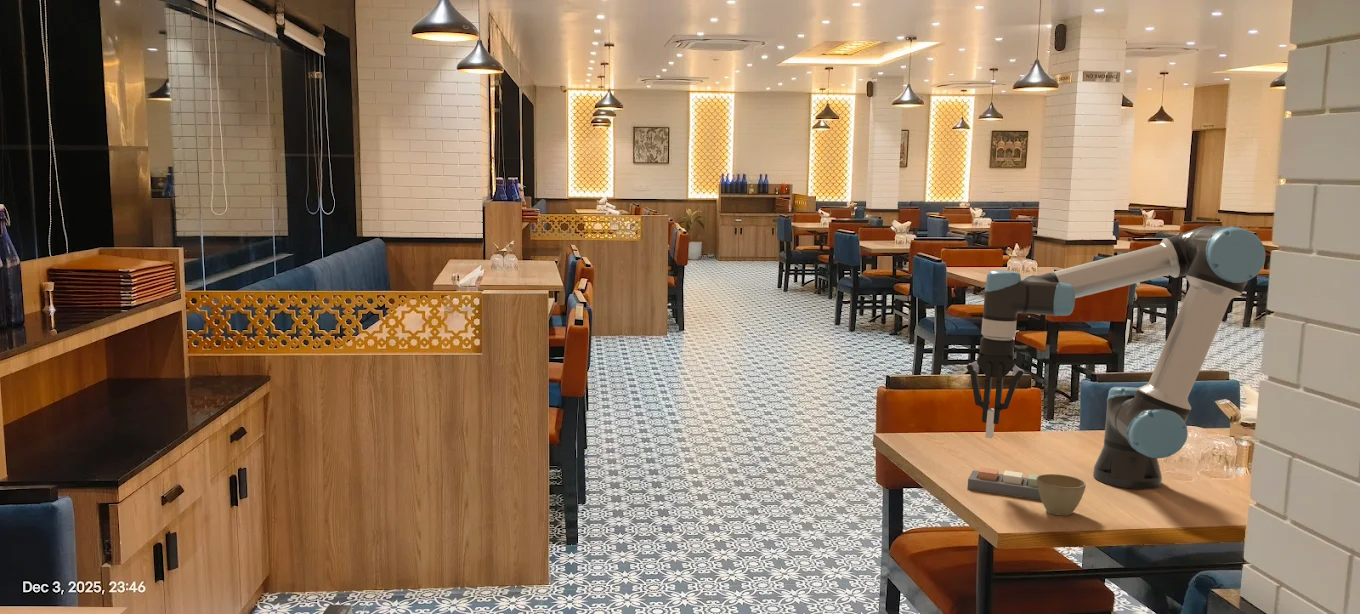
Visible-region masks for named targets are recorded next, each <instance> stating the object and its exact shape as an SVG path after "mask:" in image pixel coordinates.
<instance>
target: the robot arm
mask: <svg viewBox="0 0 1360 614" xmlns="http://www.w3.org/2000/svg"><path fill="white" fill-rule="evenodd" d="M1265 249H1266V248H1265V247H1264V244H1263V242H1262V240H1261V239H1260V237H1258V236H1257V235H1256V234H1255V233H1253V232H1252V231H1250V230H1248V229H1244V228H1242V227H1238V226H1234V225H1232V226H1231V225H1230V226H1227V225H1217V224H1212V225H1203V226H1201V227H1197V228H1194V229H1191V230H1189V231H1185V232H1183V233H1179V234H1176V235H1173V236H1169V237H1166V238H1165V237H1164V238H1163V239H1162V240H1161V242H1160V243H1159V244H1155V245H1152V246H1148V247H1143V248H1141V249H1137V250H1132V251H1129V252H1125V253H1121V254H1118V255H1113V256H1109V257H1105V258H1102V259H1098V260H1094V261H1090V262H1085V263H1083V264H1078V265H1075V266H1072V267H1070V266H1069V267H1067V268H1063V269H1058V270H1055V271H1052V272H1047V273H1044V274H1039V275H1034V274H1033V275H1028V276H1027V275H1026V276H1025V277H1023V278H1021V277H1022V276H1021V273H1020V272H1018V271H1013V270H1002V269H1001V270H999V269H997V270H996V269H994V270H990V271H989V272H988V273H987V274H986V280H985V281H986V282H985V287H984V297H983V299H984V300H983V310H982V311H983V312H982V322H981V335H982V337H981V338H980V343H979V344H980V345H979V354H978V356H977V358H976V360H975V361H973V362H971V363H970V362H969V363H968V364H967V365H966V369H967V372H968V373H969V375H970V380H971V386H972V392H973V393H972V394H973V397H974V398H973V399H974V404H975V406H977V407H980V408H981V409H982V416H981V422H982V423H986V424H985V438H986V439H992V438H993V437H994V434H995V431H994V430H995V425H999V423H1000V422H1001V411H1003V410H1008V408H1009V407H1010V405H1011V402H1012V400H1013V399H1012V398H1013V397H1014V393H1015V391H1016V388H1017V385H1018V382H1019V380H1020V379H1021V377H1022V376H1023V375H1024V374H1025V369H1023V368H1020V367H1018V366H1017V365H1016V361H1015V359H1014V355H1015V354H1014V353H1015V344H1016V340H1015V339H1014V338H1016V331H1017V320H1018V314H1032V315H1043V316H1054V317H1058V316H1061V317H1063V316H1065V317H1066V316H1067V317H1068V316H1070V315H1071V314H1073V311H1074V309H1075V304H1076V303H1075V302H1076V299H1078V298H1083V297H1085V296H1090V295H1094V294H1098V293H1102V292H1106V291H1109V290H1114V289H1117V288H1122V287H1128V286H1130V285H1133V284H1138V283H1142V282H1145V281H1146V282H1147V281H1151V280H1154V279H1158V278H1163V277H1167V276H1171V278H1175V279H1176V278H1179V277H1185V278H1186V279H1187V282H1188V284H1189V287H1188V290H1187V292H1186V294H1185V297H1184V300H1183V301H1182V304H1181V307H1180V308H1179V311H1178V313H1177V315H1176V318H1175V320H1174V323H1173V324H1172V327H1171V329H1170V332H1169V334H1168V337H1167V339H1166V341H1165V343H1164V346H1163V348H1162V349H1161V350H1162V351H1161V352H1160V355H1159V358H1158V360H1157V362H1156V365H1155V367H1154V369H1153V372H1152V374H1151V377H1150V378H1149V381H1148V382H1147V384H1145V385H1142V386H1139V387H1131V386H1129V387H1128V386H1113V387H1111V388H1110V389H1109V390H1108V397H1106V402H1107V403H1106V405H1107V406H1106V415H1105V416H1106V417H1105V427H1104V440H1103V446H1102V449H1101V451H1100V454H1099V456H1098V457H1097V460H1096V462H1095V464H1094V466H1093V478H1095V479H1096V480H1098V481H1099V482H1101V483H1104V484H1106V485H1110V486H1114V487H1118V488H1125V489H1131V490H1132V489H1133V490H1154V489H1159V488H1160V487H1161V486H1162V478H1163V475H1162V471H1161V467H1160V464H1159V460H1158V459H1164V458H1167V457H1168V458H1169V457H1171V456H1174V455H1175V454H1177V453H1178V452H1179V451H1180V450H1181V449H1183V447H1184V445H1185V444H1186V443H1187V439H1188V434H1189V433H1188V432H1189V431H1188V425H1187V424H1186V422H1187V420H1188V417H1189V416H1190V412H1191V411H1192V406H1191V404H1190V402H1189V396H1190V394H1191V391H1192V389H1193V387H1194V385H1195V382H1196V380H1197V377H1198V375H1199V373H1200V370H1202V369H1201V368H1202V367H1203V364H1204V362H1205V359H1206V357H1207V355H1208V352H1209V350H1210V348H1211V345H1212V344H1213V342H1214V339H1215V336H1216V334H1217V332H1218V329H1219V328H1220V325H1221V322H1222V320H1223V319H1224V316H1225V315H1226V314H1225V313H1226V312H1227V309H1228V306H1229V304H1230V302H1231V300H1233V299H1234V298H1237V297H1240V296H1242V294H1243V292H1244V290H1245V287H1246V285H1247V283H1248V281H1249V280H1252V279H1254V278H1255V277H1256V276H1257V275H1259V273H1260V272H1261V271H1262V269H1263V267H1264V266H1265V262H1266V250H1265ZM979 368H980V370H981V372H982V374H984V375H985V376H984V389H983V390H984V391H983V398H982V393H981V387H980V382H979V374H978V370H979ZM1011 371H1012V376H1013V378H1012V379H1011V383H1010V385H1009V387H1008V390H1007V393H1006V395H1005V398H1004V402H1003V403H1002V401H1003V388H1004V380H1005V379H1004V378H1005V377H1006V376H1007V375H1008V373H1009V372H1011ZM994 377H995V378H996V384H995V394H994V395H995V399H994V408H991V407H990V404H991V394H992V385H993V384H992V382H993V378H994ZM982 399H983V400H982Z"/></svg>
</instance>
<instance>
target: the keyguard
mask: <svg viewBox="0 0 1360 614" xmlns="http://www.w3.org/2000/svg"><path fill="white" fill-rule="evenodd" d="M978 474H979V470H974V469H973V470H972V471H971V473H970V475H969V477H968V478H967V490H971V491H978V492H986V493H991V494H992V493H993V494H1000V495H1007V496H1011V497H1019V498H1025V499H1033V500H1038V501H1042V500H1041V498H1040V495H1039V491H1038V487H1033V486H1028V478H1029V477H1024V476H1023V480H1022V485H1019V484H1012V483H1005V482H1003V474H1004V473H1003V474H1001V473H998V480H997V481H992V480H985V479H978Z"/></svg>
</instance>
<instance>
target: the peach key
mask: <svg viewBox="0 0 1360 614" xmlns="http://www.w3.org/2000/svg"><path fill="white" fill-rule="evenodd" d="M978 471H979V474H978V479H985V480H992V481H997V480H998V474H999V469H997V468H990V467H982V466H981V467H980V468H979V470H978Z"/></svg>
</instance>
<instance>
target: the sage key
mask: <svg viewBox="0 0 1360 614" xmlns="http://www.w3.org/2000/svg"><path fill="white" fill-rule="evenodd" d="M1039 475H1040V474H1032V473H1029V476H1028V477H1027V478H1028V486H1033V487H1038V486H1037V477H1038V476H1039Z"/></svg>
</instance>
